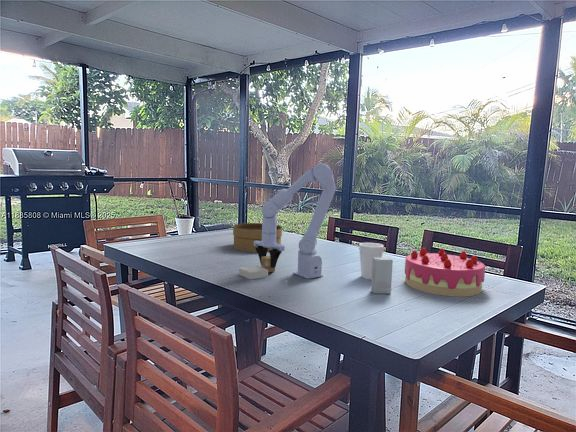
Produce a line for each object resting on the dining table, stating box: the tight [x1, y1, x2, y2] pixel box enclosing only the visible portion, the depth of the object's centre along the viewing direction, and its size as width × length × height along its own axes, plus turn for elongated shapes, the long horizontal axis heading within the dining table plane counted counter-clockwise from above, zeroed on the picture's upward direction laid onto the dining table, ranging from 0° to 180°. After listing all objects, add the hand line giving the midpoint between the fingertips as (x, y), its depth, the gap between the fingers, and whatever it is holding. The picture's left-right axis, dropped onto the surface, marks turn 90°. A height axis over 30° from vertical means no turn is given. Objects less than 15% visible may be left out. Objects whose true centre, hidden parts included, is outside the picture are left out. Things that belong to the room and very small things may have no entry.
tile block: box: [238, 265, 269, 280], centre depth 162 cm, size 8×8×3 cm
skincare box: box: [370, 257, 394, 295], centre depth 146 cm, size 6×4×12 cm
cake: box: [404, 247, 486, 297], centre depth 158 cm, size 28×28×12 cm
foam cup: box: [358, 242, 385, 280], centre depth 166 cm, size 10×9×13 cm
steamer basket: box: [232, 222, 283, 253], centre depth 217 cm, size 25×25×11 cm
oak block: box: [260, 255, 276, 273], centre depth 168 cm, size 4×4×6 cm
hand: (268, 266), depth 168 cm, fingers closed on oak block, 5 cm apart
